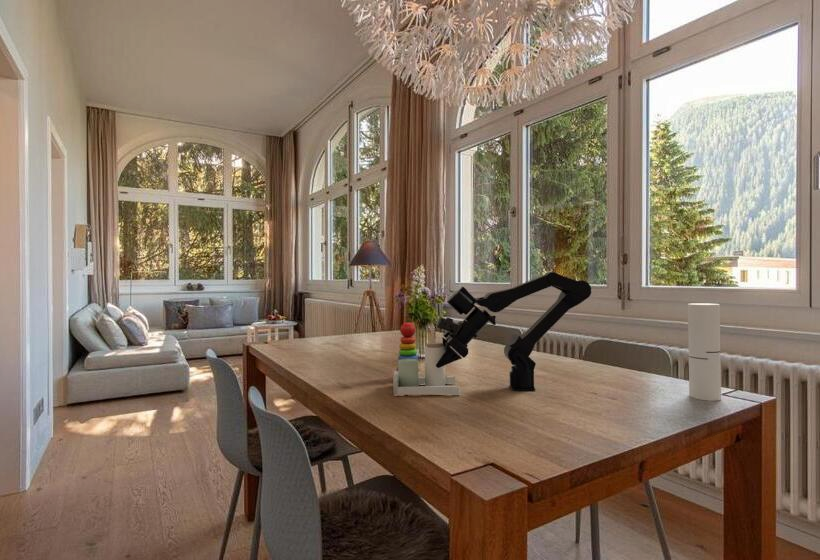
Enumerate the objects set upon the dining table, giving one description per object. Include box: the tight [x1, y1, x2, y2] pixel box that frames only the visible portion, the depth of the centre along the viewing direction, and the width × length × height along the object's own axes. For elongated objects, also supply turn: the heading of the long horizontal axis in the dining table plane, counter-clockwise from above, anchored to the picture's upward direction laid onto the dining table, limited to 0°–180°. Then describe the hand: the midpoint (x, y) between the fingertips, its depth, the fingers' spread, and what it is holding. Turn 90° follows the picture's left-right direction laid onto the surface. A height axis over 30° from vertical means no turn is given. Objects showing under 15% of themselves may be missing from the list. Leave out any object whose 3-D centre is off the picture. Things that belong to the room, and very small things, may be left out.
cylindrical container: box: [687, 302, 722, 402], centre depth 120 cm, size 7×7×25 cm
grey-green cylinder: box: [397, 359, 420, 387], centre depth 133 cm, size 6×6×9 cm
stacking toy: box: [395, 321, 421, 377], centre depth 148 cm, size 8×8×19 cm
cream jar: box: [424, 342, 446, 386], centre depth 133 cm, size 6×6×14 cm
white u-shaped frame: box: [392, 370, 461, 396], centre depth 133 cm, size 19×15×4 cm
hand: (435, 363), depth 133 cm, fingers open, 9 cm apart
